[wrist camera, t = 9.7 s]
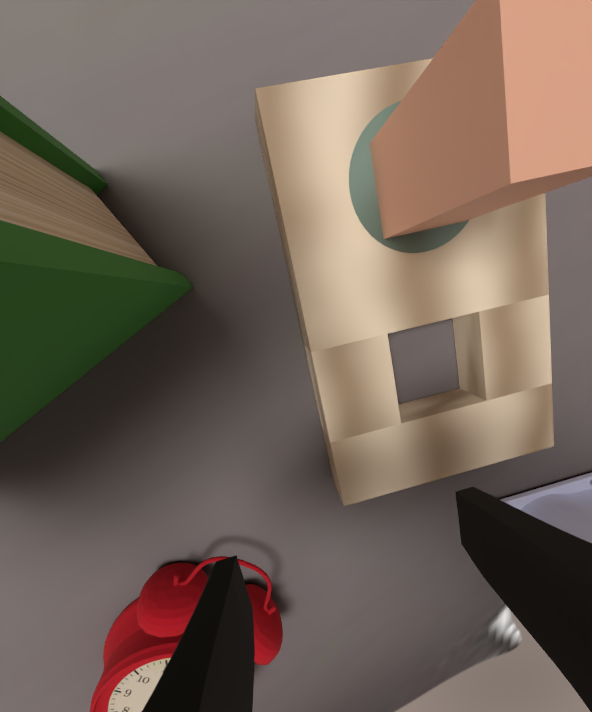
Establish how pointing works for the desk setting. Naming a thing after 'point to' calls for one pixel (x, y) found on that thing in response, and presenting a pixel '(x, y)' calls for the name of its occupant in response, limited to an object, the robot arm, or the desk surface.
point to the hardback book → (63, 271)
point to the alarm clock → (169, 634)
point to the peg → (490, 117)
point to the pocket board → (402, 295)
